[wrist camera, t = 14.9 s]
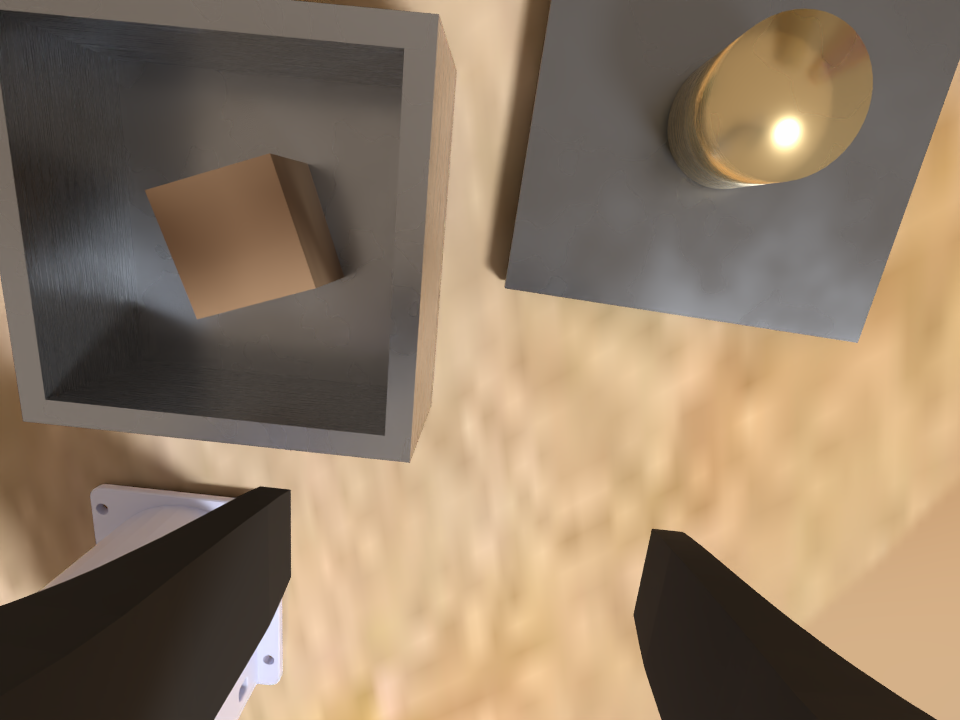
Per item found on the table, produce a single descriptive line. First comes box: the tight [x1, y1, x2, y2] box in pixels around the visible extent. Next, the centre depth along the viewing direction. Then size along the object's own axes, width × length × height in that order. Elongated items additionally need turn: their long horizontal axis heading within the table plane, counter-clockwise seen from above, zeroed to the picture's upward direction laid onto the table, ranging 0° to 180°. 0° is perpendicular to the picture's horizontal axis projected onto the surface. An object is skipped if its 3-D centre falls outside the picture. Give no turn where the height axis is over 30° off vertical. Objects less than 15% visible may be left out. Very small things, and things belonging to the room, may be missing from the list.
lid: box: [505, 0, 960, 343], centre depth 15 cm, size 13×13×5 cm
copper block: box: [145, 153, 344, 319], centre depth 17 cm, size 4×4×3 cm
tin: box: [0, 0, 456, 463], centre depth 17 cm, size 12×12×5 cm
